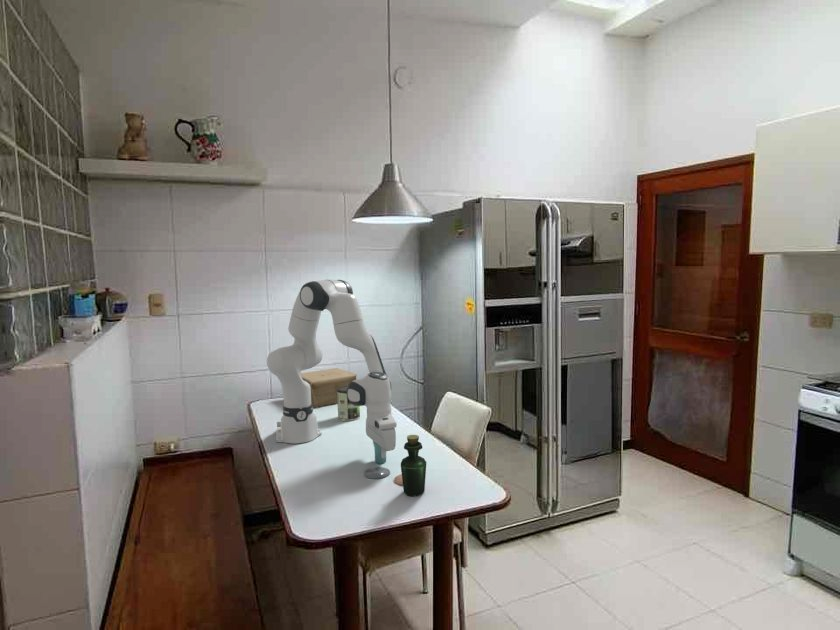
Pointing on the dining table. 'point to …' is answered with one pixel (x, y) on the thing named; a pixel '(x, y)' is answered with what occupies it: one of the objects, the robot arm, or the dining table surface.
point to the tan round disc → (398, 480)
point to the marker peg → (378, 455)
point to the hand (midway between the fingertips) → (380, 454)
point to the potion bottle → (413, 468)
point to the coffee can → (346, 406)
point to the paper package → (327, 385)
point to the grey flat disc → (376, 472)
